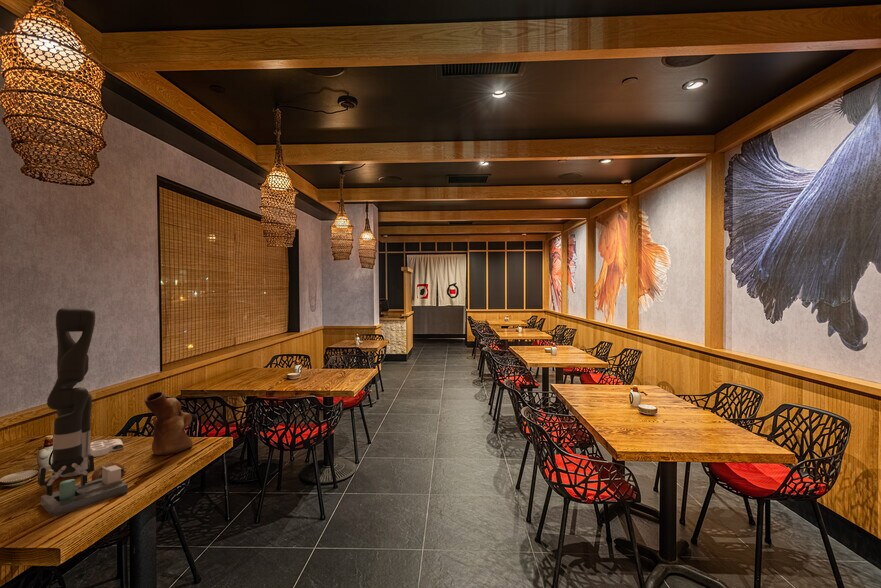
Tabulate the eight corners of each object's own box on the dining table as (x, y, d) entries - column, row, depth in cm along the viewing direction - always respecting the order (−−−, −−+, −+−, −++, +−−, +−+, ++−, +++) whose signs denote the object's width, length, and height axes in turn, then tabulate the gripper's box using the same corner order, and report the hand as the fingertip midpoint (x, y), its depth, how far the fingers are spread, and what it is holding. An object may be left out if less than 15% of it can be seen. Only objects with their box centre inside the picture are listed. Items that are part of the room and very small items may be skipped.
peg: (57, 505, 134) (58, 482, 134) (73, 500, 137) (73, 478, 138) (61, 508, 132) (61, 485, 132) (76, 503, 135) (76, 480, 136)
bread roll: (104, 482, 159) (94, 466, 158) (131, 468, 163) (122, 452, 162) (92, 493, 150) (82, 476, 149) (121, 478, 154) (111, 461, 153)
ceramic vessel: (199, 445, 191) (200, 386, 192) (158, 463, 170) (158, 396, 171) (175, 443, 195) (175, 384, 196) (131, 460, 174) (132, 394, 175)
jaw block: (101, 481, 145) (102, 467, 145) (115, 477, 149) (115, 463, 149) (107, 485, 142) (107, 470, 142) (120, 481, 145) (121, 466, 145)
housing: (40, 504, 135) (40, 493, 135) (111, 482, 152) (112, 472, 152) (53, 517, 126) (53, 506, 126) (127, 492, 143) (127, 482, 143)
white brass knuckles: (124, 451, 186) (83, 460, 175) (120, 442, 198) (81, 450, 188) (124, 444, 186) (83, 453, 175) (120, 436, 199) (82, 443, 188)
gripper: (90, 436, 143) (89, 479, 143) (36, 448, 131) (35, 496, 131) (97, 440, 139) (96, 484, 139) (42, 453, 127) (41, 502, 127)
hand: (66, 490), depth 135 cm, fingers open, 8 cm apart
